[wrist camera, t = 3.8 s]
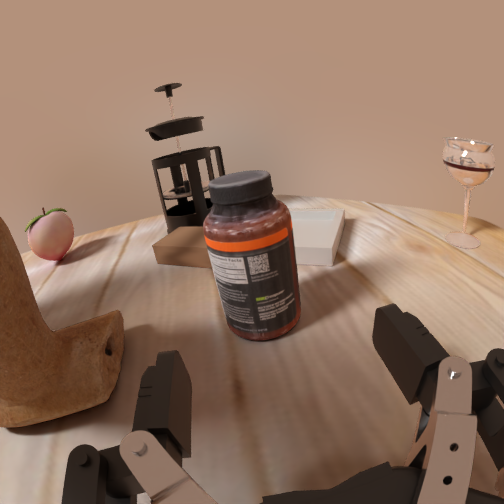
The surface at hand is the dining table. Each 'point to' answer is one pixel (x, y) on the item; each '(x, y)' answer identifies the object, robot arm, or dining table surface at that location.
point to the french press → (199, 206)
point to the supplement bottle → (252, 255)
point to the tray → (317, 235)
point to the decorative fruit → (51, 234)
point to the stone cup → (49, 352)
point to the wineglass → (467, 176)
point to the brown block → (183, 248)
